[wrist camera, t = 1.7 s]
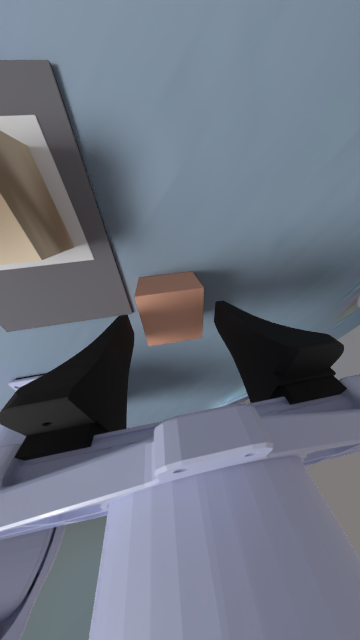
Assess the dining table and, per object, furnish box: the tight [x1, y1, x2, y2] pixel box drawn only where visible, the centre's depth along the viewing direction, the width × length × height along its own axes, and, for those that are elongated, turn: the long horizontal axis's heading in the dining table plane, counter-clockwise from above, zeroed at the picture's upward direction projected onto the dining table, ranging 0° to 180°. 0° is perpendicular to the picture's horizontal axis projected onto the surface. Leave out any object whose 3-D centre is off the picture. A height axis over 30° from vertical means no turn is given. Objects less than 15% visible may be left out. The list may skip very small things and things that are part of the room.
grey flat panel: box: [0, 60, 132, 332], centre depth 10 cm, size 14×12×1 cm
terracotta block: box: [135, 271, 204, 346], centre depth 13 cm, size 5×5×4 cm
